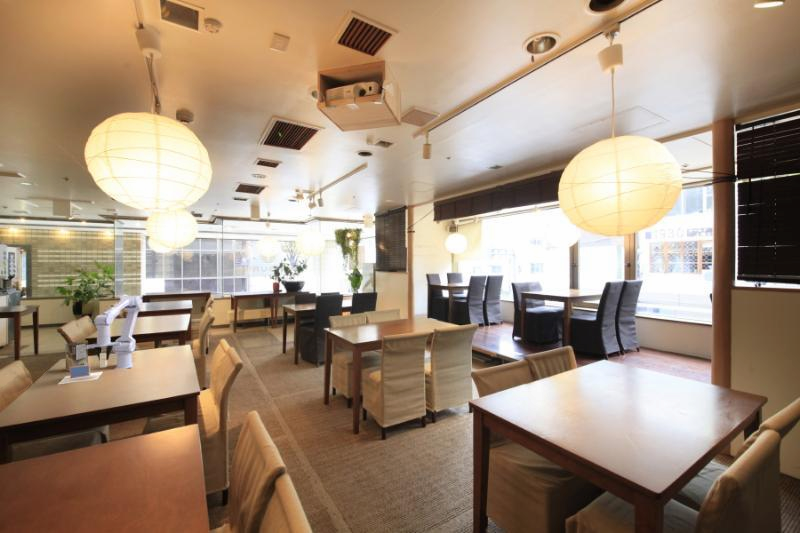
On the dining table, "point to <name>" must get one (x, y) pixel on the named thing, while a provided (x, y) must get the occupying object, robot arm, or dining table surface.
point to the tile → (79, 371)
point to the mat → (80, 378)
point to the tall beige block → (103, 359)
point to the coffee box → (76, 354)
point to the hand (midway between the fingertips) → (103, 359)
